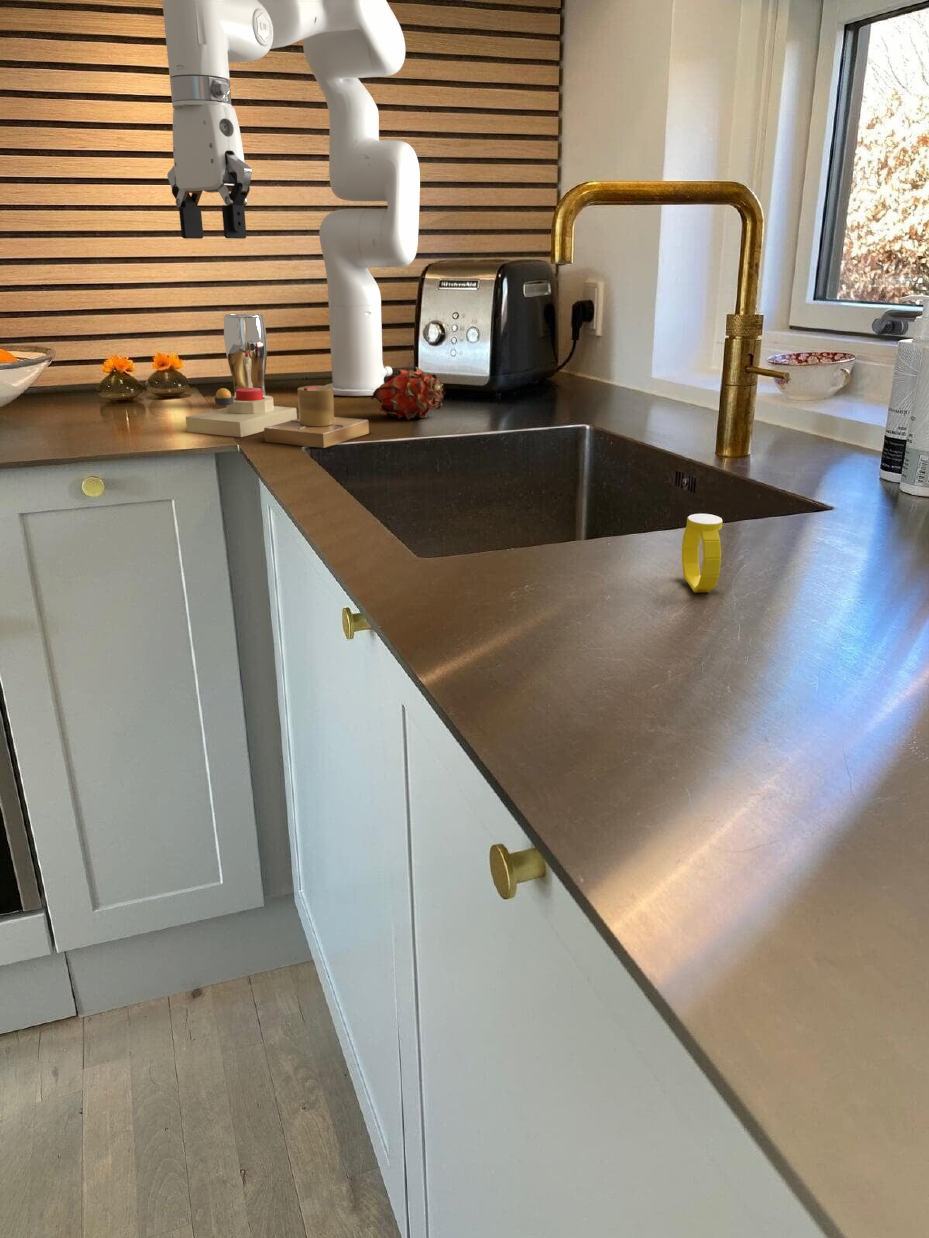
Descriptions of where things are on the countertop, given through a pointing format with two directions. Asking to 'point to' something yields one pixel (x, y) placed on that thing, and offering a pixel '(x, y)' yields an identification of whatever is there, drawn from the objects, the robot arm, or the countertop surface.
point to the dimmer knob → (316, 405)
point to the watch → (711, 551)
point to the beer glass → (246, 349)
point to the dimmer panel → (316, 432)
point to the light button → (249, 394)
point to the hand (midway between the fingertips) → (213, 238)
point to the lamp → (223, 397)
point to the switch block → (241, 418)
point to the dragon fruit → (410, 394)
